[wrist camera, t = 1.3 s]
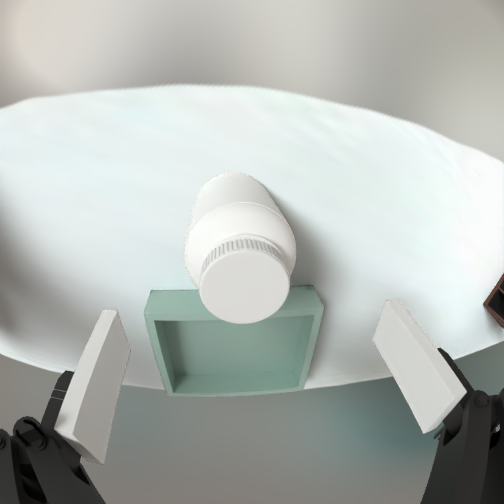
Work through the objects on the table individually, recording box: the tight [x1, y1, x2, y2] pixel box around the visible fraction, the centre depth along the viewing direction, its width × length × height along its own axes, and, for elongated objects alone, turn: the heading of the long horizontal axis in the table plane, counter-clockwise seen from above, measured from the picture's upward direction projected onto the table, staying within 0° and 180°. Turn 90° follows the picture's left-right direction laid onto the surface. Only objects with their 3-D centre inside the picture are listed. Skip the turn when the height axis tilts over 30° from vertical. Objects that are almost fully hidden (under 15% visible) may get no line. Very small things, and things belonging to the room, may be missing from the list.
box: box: [144, 286, 324, 397], centre depth 35 cm, size 20×16×4 cm
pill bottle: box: [184, 172, 297, 324], centre depth 23 cm, size 8×8×15 cm
